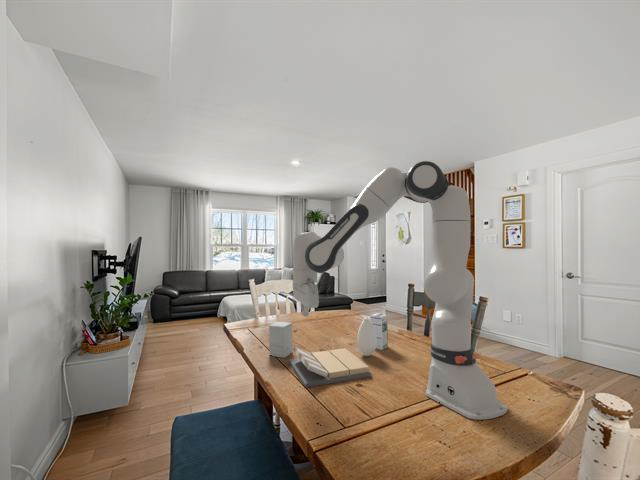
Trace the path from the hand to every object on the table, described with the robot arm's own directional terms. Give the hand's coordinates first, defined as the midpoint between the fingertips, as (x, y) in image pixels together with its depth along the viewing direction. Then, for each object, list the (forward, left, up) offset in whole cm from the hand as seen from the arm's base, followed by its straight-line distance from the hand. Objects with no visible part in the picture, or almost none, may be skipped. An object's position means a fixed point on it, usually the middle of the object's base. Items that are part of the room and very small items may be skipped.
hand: (305, 315), depth 108 cm
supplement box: (+21, +4, -21) cm, 30 cm away
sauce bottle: (+7, -29, -21) cm, 36 cm away
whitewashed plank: (0, -1, -17) cm, 17 cm away
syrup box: (+14, -39, -21) cm, 46 cm away
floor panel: (0, -9, -20) cm, 22 cm away
